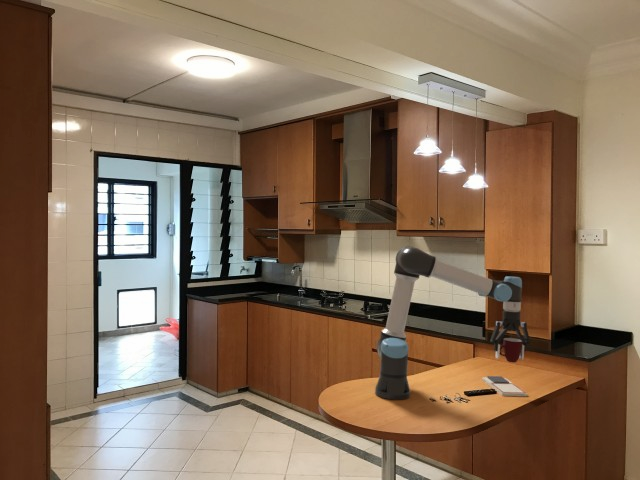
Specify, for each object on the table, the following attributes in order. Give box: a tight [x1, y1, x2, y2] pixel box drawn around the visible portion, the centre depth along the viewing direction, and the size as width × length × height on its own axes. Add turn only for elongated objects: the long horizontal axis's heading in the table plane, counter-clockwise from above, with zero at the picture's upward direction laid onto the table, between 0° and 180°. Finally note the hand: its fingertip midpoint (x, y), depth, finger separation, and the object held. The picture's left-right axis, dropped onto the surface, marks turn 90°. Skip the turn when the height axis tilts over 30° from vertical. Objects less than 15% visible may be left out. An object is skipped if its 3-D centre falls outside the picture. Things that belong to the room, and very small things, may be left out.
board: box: [481, 375, 529, 397], centre depth 240 cm, size 12×24×2 cm, turn 3°
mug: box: [500, 337, 522, 364], centre depth 235 cm, size 10×8×10 cm
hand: (509, 358), depth 235 cm, fingers closed on mug, 11 cm apart
